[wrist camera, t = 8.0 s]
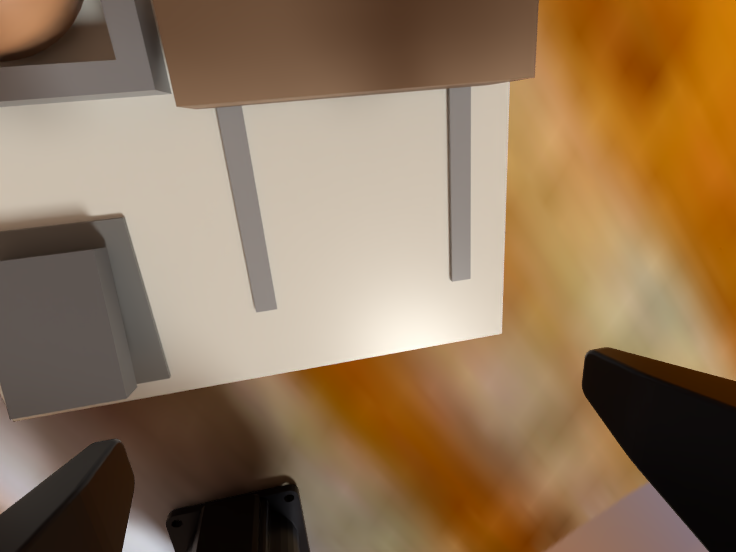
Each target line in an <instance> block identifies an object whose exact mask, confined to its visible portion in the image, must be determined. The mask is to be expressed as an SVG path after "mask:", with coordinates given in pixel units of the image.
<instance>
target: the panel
mask: <svg viewBox="0 0 736 552" xmlns="http://www.w3.org/2000/svg"><path fill="white" fill-rule="evenodd" d="M509 90H510V82H505V83H498V84H492V85H485V86H473V87H460V88H448V89H436V90H424V91H412V92H400V93H388V94H376V95H364V96H352V97H340V98H328V99H316V100H304V101H292V102H280V103H268V104H255V105H243V106H231V107H219V108H207V109H190V108H182V107H176V103H175V98H174V94H173V89H172V85H171V81H170V76H169V72H168V67H167V63H166V58H165V54H164V50H163V45H162V41H161V36H160V32H159V27H158V23H157V19H156V14H155V10H154V5H153V1H152V0H84V2H83V4H82V7H81V10H80V12H79V14H78V16H77V18H76V20H75V21H74V23H73V24H72V26H71V27H70V28H69V29H68V31H67V32H66V33H65V34H64V35H63V36H62V37H61V38H60V39H59V40H58V41H57V42H56V43H54V44H53V45H51V46H50V47H48V48H47V49H45V50H43V51H41V52H39V53H37V54H35V55H32V56H29V57H26V58H22V59H19V60H12V61H4V62H0V261H3V260H10V259H18V258H26V257H34V256H42V255H50V254H58V253H65V252H73V251H81V250H89V249H97V248H105V247H107V251H108V256H109V260H110V265H111V269H112V274H113V278H114V283H115V288H116V292H117V297H118V301H119V306H120V310H121V315H122V319H123V324H124V328H125V333H126V338H127V342H128V347H129V351H130V356H131V360H132V365H133V369H134V374H135V378H136V383H137V388H136V389H135V390H134V391H133V392H132V394H131V395H130V396H129V397H128V398H127V399H122V400H117V401H111V402H106V403H100V404H95V405H89V406H84V407H78V408H72V409H67V410H61V411H56V412H50V413H45V414H39V415H33V416H28V417H22V418H17V419H12V420H13V422H15V421H20V420H26V419H31V418H37V417H43V416H48V415H54V414H59V413H65V412H70V411H76V410H81V409H87V408H92V407H98V406H103V405H109V404H115V403H120V402H126V401H131V400H137V399H142V398H148V397H153V396H159V395H164V394H170V393H175V392H181V391H187V390H192V389H198V388H203V387H209V386H214V385H220V384H225V383H231V382H236V381H242V380H247V379H253V378H259V377H264V376H270V375H275V374H281V373H286V372H292V371H297V370H303V369H308V368H314V367H319V366H325V365H331V364H336V363H342V362H347V361H353V360H358V359H364V358H369V357H375V356H380V355H386V354H391V353H397V352H403V351H408V350H414V349H419V348H425V347H430V346H436V345H441V344H447V343H452V342H458V341H463V340H469V339H475V338H480V337H486V336H491V335H497V334H502V309H503V278H504V247H505V216H506V184H507V153H508V122H509ZM0 394H1V396H2V398H3V400H4V403H5V399H4V396H3V392H2V388H1V385H0ZM5 405H6V403H5Z"/></svg>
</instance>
